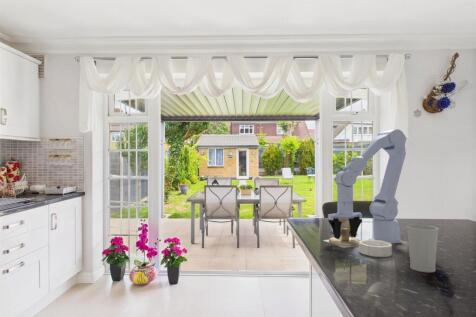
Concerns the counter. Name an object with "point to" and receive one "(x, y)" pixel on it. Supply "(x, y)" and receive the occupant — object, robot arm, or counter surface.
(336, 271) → the counter surface
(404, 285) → the counter surface
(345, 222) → the fruit
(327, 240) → the mat
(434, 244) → the cup
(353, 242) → the lid
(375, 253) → the bowl
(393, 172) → the robot arm
